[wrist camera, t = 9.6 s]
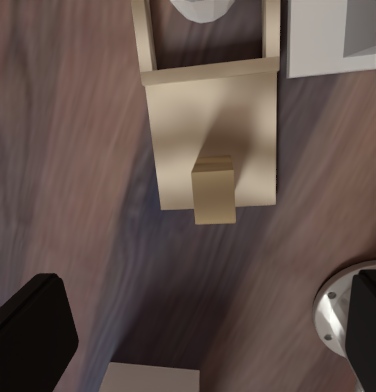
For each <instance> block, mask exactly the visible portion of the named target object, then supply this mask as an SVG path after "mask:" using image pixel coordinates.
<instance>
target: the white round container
mask: <svg viewBox="0 0 376 392" xmlns="http://www.w3.org/2000/svg"><path fill="white" fill-rule="evenodd" d="M170 1H171V2H172V4H173V5H174V6H175V7H176V8H177V10H178V11H179V12H181V13H182V14H183V15H184V16H185V17H186V18H187V19H189V20H192V21H195V22H198V23H205V22H212V21H215V20H216V19H218V18H219V17H221V16H223V15H224V14H226V12H227V11H228V10H229V8H230V7H231V6H232V4H233V3H234V1H235V0H170Z"/></svg>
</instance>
